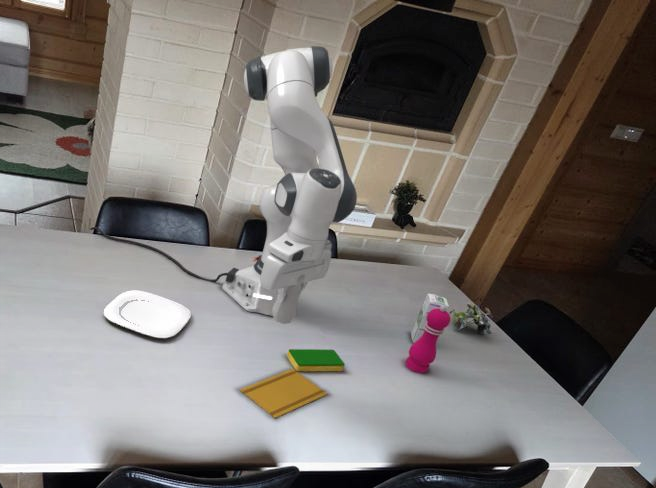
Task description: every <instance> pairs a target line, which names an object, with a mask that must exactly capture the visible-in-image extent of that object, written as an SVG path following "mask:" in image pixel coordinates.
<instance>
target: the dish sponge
mask: <svg viewBox="0 0 656 488" xmlns="http://www.w3.org/2000/svg"><path fill="white" fill-rule="evenodd" d="M286 358H287V359H288V361H289V362H290V364H291V365H292V367H293V369H294V370H295V371H297V372H342V371H343V369H344V367H345V365H346V364H345V362H344V361H343V360H342V358H341V357H340V356H339V354H338V353H337V352H336V350H334V349H320V348H319V349H309V348H306V349H305V348H302V349H301V348H300V349H299V348H295V349H294V348H290V349H288V351H287V354H286Z"/></svg>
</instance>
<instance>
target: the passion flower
mask: <svg viewBox="0 0 656 488" xmlns="http://www.w3.org/2000/svg"><path fill="white" fill-rule="evenodd" d="M466 306H467V307H468V309H467V310H466V311H465V312H462V311H461V312H458V313H457V312H455V311H456V310H455V309H451V310H450V311H449V315H450V314H452V313H454V314H453V315H452V319H456V320H455V321H454V322H453V326H455V325H456V324H457V323H459V322H461V324H460V327H459V328H458V329H456V332H458V331H461V329H465V328H467V327H469V326H470V325H476V326H477V327H476V331H477V334H481V336H484V332H486V333H487V334H488V335H491V334H492V331H491V323H490V322H489V321H490V319H493V315H492V311H490V309H489V307H487V306H485V307H484V310H485V312H486V313H483V311H482V309H481V307H479V305H477V304H474V305H473V306H472V305H471V304H470V302H469V301H468V302H467V305H466ZM486 316H488V317H486ZM470 318H471V319H472V320H470V321H468V319H470ZM489 318H490V319H489Z"/></svg>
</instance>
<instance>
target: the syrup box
mask: <svg viewBox="0 0 656 488" xmlns="http://www.w3.org/2000/svg"><path fill="white" fill-rule="evenodd" d="M442 305H445V306H446V307H447V310H446V312H448V309H449V306H450V305H449V303H448V299H447V297H445V296H442V295H439V294H434V293H429V292H428V293H427V294H426V296H425V300H424V301H423V303H422V306H421V307H420V310H419V313H418V316H417V318H416V320H415V322H414V324H413V326H412V329H411V332H410V337H411V338H410V339H411V342H412V344H414V343H415V342H416V341H417V340H418V339H419V338H420V337H421V336H422V335H423V333H424V331H425V329H424V326H425V324H426V323H427V315H428V313H429V312H430V311H431V310H433V309H440V306H442Z"/></svg>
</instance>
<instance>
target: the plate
mask: <svg viewBox="0 0 656 488" xmlns="http://www.w3.org/2000/svg"><path fill="white" fill-rule="evenodd" d="M136 299H137V300H138V301H133V302H130V303H128V304H127V305H126V306H125V307H124V308H123V309H122V311H121V315H122V316H123V317H124V318H125V319H126V320H128V321H129V322H128V321H126V320H124V319H123V318H121V316H120V315H119V307H121V306H122V305H123V304H124V303H125V302H127V301H131V300H136ZM141 300H145V301H141ZM148 301H149V302H148ZM103 316H104V318H106V320H108V321H109V322H111V323H113V324H115V323H116V324H115V325H117V326H119V325H120V326H119V327H122V328H124V327H125V328H124V329H127V330H129V329H130V331H132V332H135V333H138V334H141V335H144V336H147V337H150V338H153V339H163V340H164V339H165V340H166V339H169V338H173V337H175V336H176V335H177V334H178V333H180V332H181V331H182V329H184V327H185V326H186V325H187V324H188V323H189V321H190V320H191V317H192V314H191V310H190V309H188V308H187V307H186V306H184V305H183V304H181V303H179V302H176V301H174V300H171V299H168V298H166V297H163V296H161V295H157V294H154V293H151V292H147V291H144V290H136V289H131V290H127V291H124V292H122V293H120V294H119V295H118V296H116V297H115V298H114V299H113V300H112V301H110V302H109V303H108V304H107V305H106V306H105V308H104V309H103ZM130 322H131V323H130ZM133 323H134V324H133ZM135 324H136V325H135ZM138 325H139V326H138Z"/></svg>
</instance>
